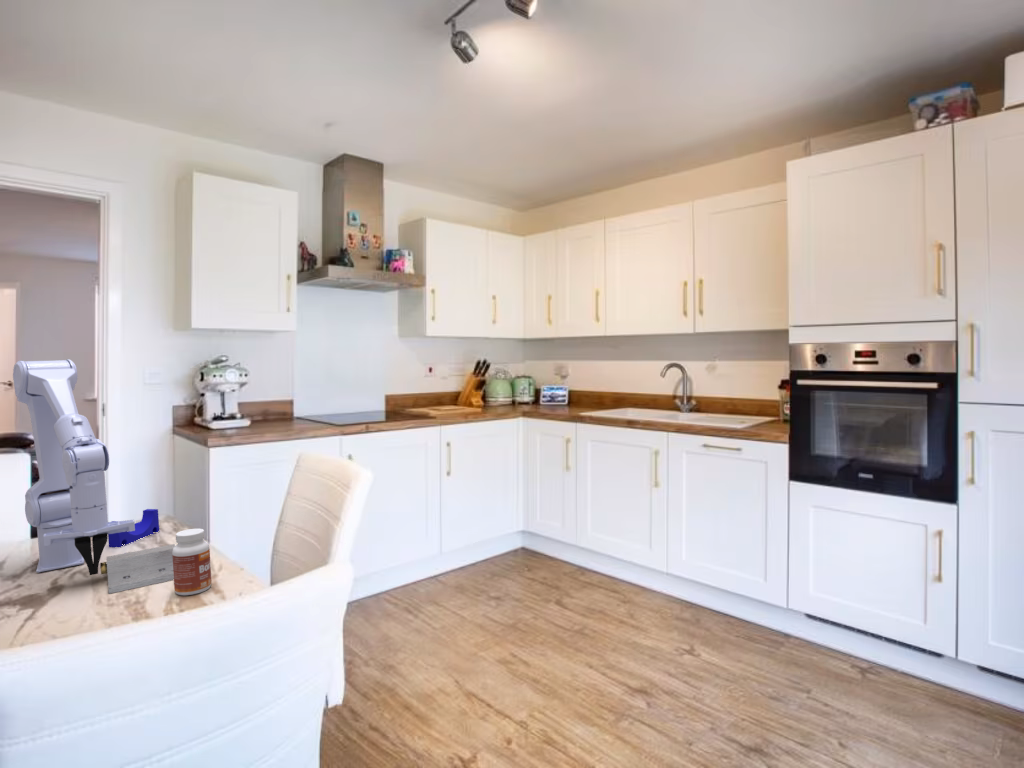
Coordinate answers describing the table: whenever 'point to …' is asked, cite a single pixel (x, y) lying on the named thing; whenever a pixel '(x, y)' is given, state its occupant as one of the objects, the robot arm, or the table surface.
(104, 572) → the brass headed pin
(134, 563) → the steel hinge
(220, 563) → the table surface
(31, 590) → the table surface
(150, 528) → the blue u-shaped cradle block
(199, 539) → the pill bottle
